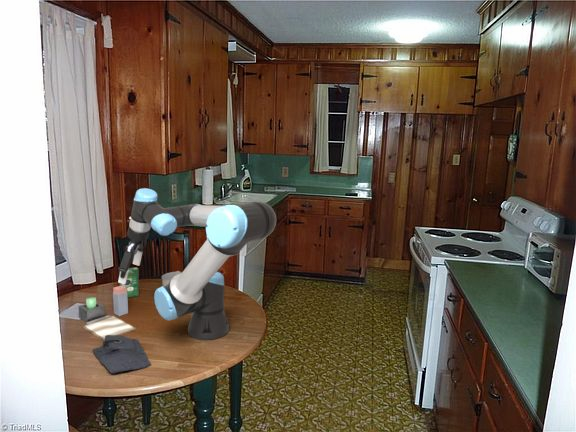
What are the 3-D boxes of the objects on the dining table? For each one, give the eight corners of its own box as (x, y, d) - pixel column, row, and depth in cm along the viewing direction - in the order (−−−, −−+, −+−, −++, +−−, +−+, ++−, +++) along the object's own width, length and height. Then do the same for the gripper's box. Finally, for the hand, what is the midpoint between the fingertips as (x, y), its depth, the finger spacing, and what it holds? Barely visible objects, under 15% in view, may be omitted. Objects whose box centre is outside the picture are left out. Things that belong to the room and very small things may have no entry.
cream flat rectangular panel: (136, 329, 161) (136, 326, 161) (103, 341, 151) (103, 338, 151) (113, 316, 172) (113, 313, 172) (81, 326, 162) (80, 324, 162)
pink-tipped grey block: (128, 313, 175) (127, 287, 173) (118, 316, 172) (117, 290, 170) (122, 310, 177) (121, 285, 175) (113, 313, 174) (112, 287, 172)
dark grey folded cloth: (102, 381, 128) (102, 367, 127) (91, 349, 146) (90, 336, 145) (154, 367, 136) (154, 354, 135) (137, 339, 154) (136, 327, 153)
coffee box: (138, 293, 196) (137, 266, 193) (139, 296, 193) (138, 268, 191) (119, 296, 192) (118, 268, 189) (120, 298, 189) (119, 270, 187)
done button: (98, 310, 169) (97, 298, 168) (89, 313, 166) (88, 301, 166) (94, 308, 171) (93, 296, 171) (85, 310, 169) (84, 298, 168)
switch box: (105, 317, 170) (104, 305, 169) (87, 323, 165) (86, 311, 164) (96, 312, 174) (95, 301, 173) (79, 317, 169) (78, 306, 168)
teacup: (179, 296, 194) (179, 279, 193) (157, 294, 196) (157, 277, 195) (192, 286, 208) (192, 270, 206) (171, 284, 210) (171, 268, 208)
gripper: (142, 211, 170) (132, 254, 178) (114, 240, 147) (105, 288, 156) (160, 217, 170) (150, 260, 179) (135, 247, 148) (125, 294, 156)
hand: (129, 273), depth 167 cm, fingers open, 13 cm apart
